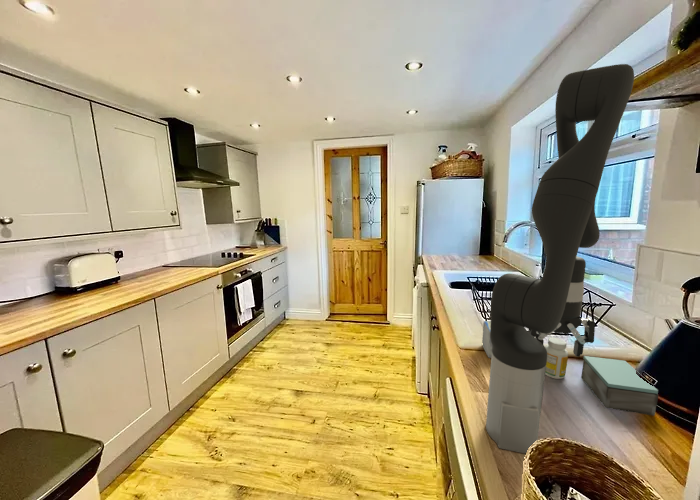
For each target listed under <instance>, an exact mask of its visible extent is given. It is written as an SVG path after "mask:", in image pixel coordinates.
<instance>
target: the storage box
mask: <svg viewBox="0 0 700 500" xmlns="http://www.w3.org/2000/svg"><path fill="white" fill-rule="evenodd" d="M581 369H582V371H581V377H580V378H581V379H582V380H583V381H584V383H585V384H586V386H588V388H589V389H590V391H591V392H592V393H593V394H594V396H595V397H596V398H597V399H598V401H599V402H600V403H601V404H602V405H603V407H604V408H605V409H610V410H615V411H623V412H627V413H635V414H641V415H648V416H653V417H654V416H655V415H656V410H657V405H658V400H659V394H655V393H648V392H641V391H634V390H627V389H620V388H613V387H608V386H607V385H606V384H605V383H604V382H603V381H602V379H601V378H600V377H599V376H598V375H597V374H596V373H595V371H594V370H593V369H592V368H591V367H590V366H589V365H588V363H587V362H586V361H585V360H584V359H583V362H582V368H581Z"/></svg>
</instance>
